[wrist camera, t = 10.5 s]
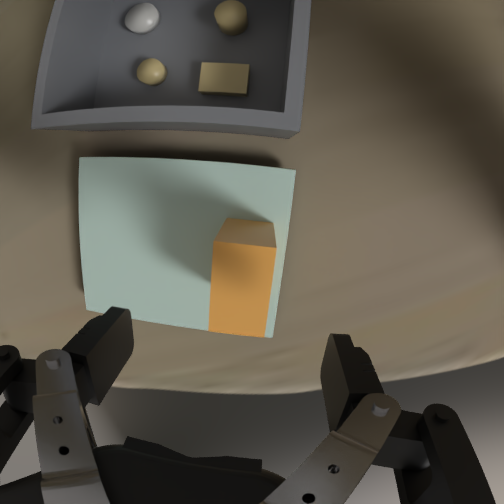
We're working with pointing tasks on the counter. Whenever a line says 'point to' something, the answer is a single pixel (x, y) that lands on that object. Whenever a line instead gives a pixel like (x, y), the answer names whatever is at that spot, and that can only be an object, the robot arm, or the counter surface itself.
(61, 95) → the tub
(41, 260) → the counter surface
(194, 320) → the lid
